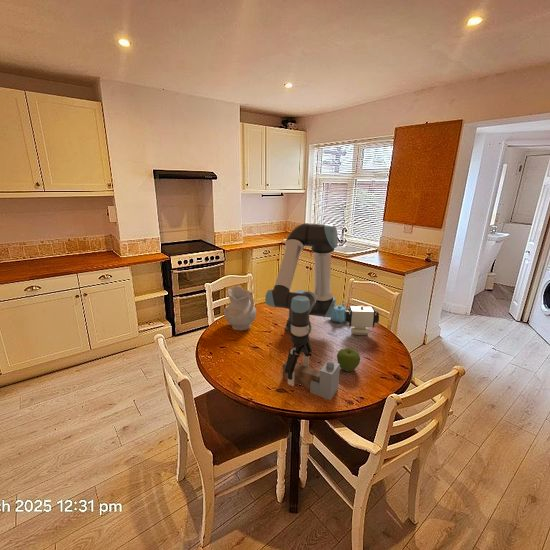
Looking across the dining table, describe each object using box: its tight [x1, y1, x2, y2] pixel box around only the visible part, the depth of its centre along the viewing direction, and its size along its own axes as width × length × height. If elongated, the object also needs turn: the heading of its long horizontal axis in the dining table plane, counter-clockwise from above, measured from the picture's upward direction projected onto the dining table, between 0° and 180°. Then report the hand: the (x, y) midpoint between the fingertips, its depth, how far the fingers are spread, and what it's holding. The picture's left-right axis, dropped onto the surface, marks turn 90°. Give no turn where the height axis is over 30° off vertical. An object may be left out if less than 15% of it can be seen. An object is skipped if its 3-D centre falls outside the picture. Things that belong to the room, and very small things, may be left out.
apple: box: [336, 347, 361, 372], centre depth 138 cm, size 11×10×10 cm
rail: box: [282, 360, 320, 389], centre depth 129 cm, size 18×4×7 cm, turn 57°
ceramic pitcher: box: [223, 285, 257, 331], centre depth 178 cm, size 22×20×25 cm
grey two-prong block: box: [309, 359, 341, 401], centre depth 123 cm, size 9×8×14 cm
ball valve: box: [344, 305, 380, 336], centre depth 170 cm, size 18×8×18 cm, turn 84°
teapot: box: [330, 301, 347, 324], centre depth 188 cm, size 13×13×10 cm
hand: (298, 376), depth 131 cm, fingers open, 13 cm apart
